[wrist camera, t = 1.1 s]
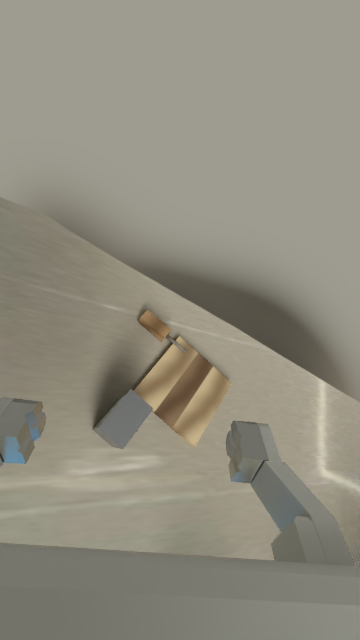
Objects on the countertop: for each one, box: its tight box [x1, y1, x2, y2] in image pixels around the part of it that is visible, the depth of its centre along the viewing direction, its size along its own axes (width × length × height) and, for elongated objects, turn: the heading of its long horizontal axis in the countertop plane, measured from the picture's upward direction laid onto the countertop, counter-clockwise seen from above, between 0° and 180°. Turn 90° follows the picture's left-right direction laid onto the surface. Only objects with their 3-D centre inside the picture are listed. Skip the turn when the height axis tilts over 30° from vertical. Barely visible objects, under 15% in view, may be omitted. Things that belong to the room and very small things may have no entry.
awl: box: [138, 310, 187, 354], centre depth 48 cm, size 11×2×2 cm, turn 53°
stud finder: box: [93, 389, 153, 449], centre depth 36 cm, size 4×6×10 cm
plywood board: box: [133, 336, 232, 447], centre depth 46 cm, size 14×14×1 cm
